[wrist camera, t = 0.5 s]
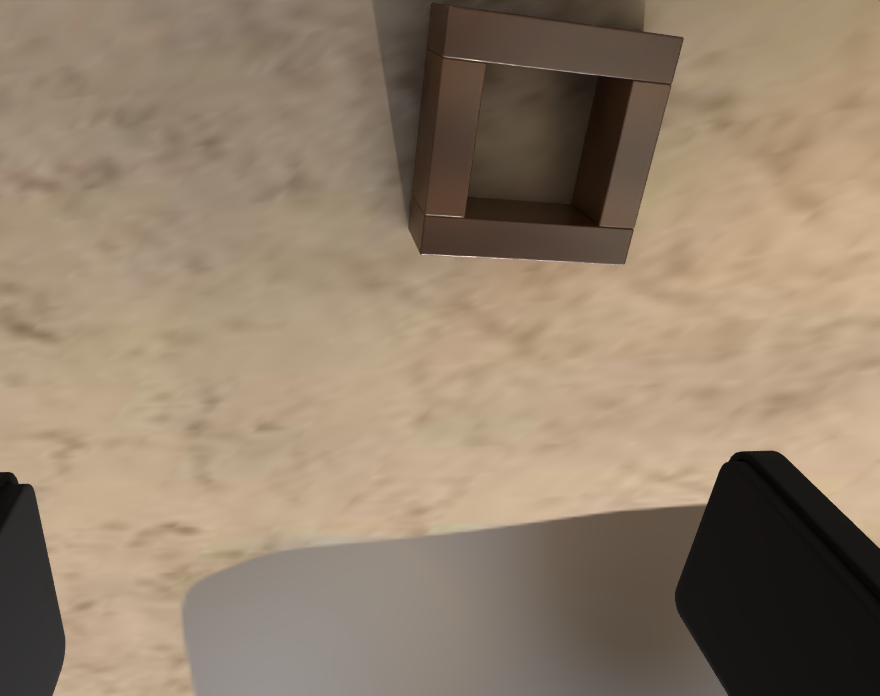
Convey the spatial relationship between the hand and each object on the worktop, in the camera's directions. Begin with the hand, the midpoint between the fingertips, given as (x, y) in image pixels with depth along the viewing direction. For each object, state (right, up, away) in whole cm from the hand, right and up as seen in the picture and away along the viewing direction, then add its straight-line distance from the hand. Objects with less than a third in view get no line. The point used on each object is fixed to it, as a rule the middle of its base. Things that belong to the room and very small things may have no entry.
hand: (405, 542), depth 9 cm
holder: (+5, +14, +26) cm, 30 cm away
